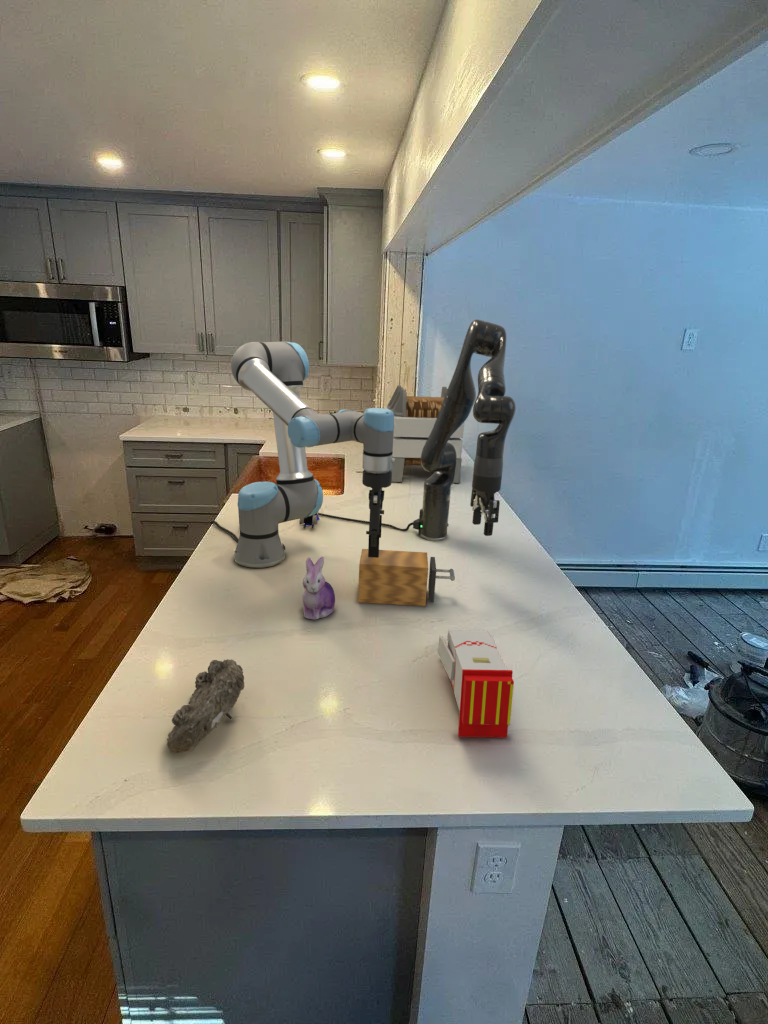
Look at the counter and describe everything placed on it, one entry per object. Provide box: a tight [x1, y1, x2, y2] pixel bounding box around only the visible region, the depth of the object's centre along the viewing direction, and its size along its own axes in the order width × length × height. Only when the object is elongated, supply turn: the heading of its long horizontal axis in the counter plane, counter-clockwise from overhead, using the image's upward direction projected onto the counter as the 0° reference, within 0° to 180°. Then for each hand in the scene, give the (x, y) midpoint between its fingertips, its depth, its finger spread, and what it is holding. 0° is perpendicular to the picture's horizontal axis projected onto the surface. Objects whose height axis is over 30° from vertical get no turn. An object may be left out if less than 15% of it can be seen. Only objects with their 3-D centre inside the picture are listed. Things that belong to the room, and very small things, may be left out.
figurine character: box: [298, 511, 320, 530], centre depth 204 cm, size 7×8×15 cm
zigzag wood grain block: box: [357, 548, 429, 607], centre depth 155 cm, size 18×10×11 cm, turn 88°
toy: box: [437, 628, 515, 738], centre depth 117 cm, size 12×13×30 cm
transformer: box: [386, 384, 465, 484], centre depth 268 cm, size 34×33×41 cm
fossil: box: [166, 658, 245, 754], centre depth 106 cm, size 22×10×15 cm
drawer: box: [427, 556, 456, 603], centre depth 155 cm, size 22×9×10 cm, turn 88°
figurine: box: [302, 556, 336, 621], centre depth 144 cm, size 9×10×15 cm
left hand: (374, 546), depth 152 cm, fingers open, 13 cm apart
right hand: (481, 529), depth 155 cm, fingers open, 8 cm apart
